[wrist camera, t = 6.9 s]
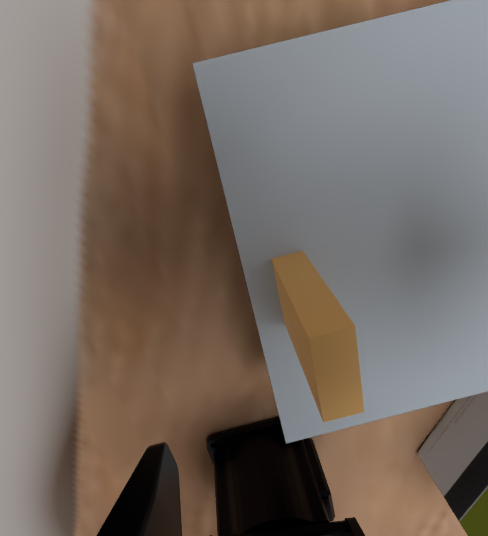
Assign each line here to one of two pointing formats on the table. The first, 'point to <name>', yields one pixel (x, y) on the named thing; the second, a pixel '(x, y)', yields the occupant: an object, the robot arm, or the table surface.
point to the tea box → (462, 461)
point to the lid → (361, 210)
